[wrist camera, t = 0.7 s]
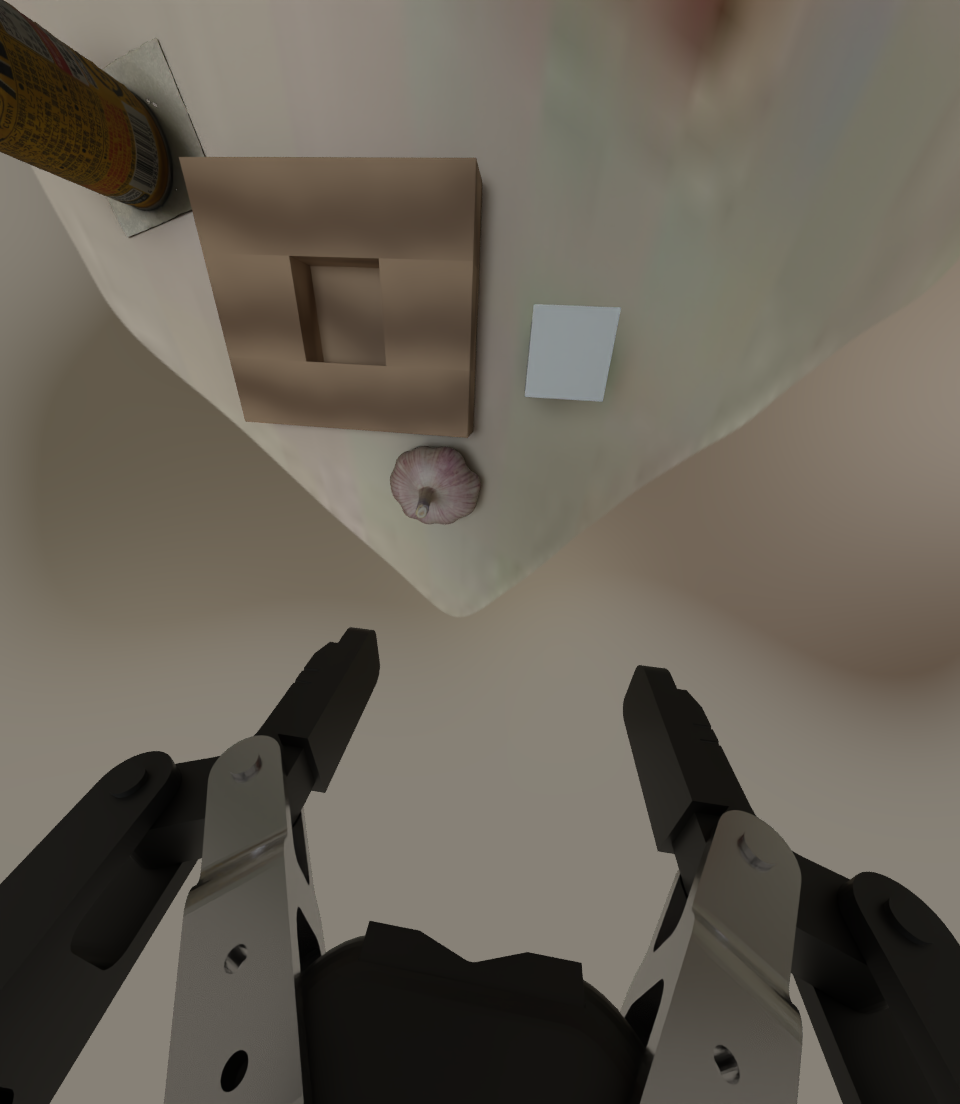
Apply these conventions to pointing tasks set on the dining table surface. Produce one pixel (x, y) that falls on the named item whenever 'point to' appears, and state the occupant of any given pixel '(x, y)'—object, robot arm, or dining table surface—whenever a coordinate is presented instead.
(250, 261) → the board
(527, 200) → the dining table surface
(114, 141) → the condiment
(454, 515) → the garlic bulb
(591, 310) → the peg
